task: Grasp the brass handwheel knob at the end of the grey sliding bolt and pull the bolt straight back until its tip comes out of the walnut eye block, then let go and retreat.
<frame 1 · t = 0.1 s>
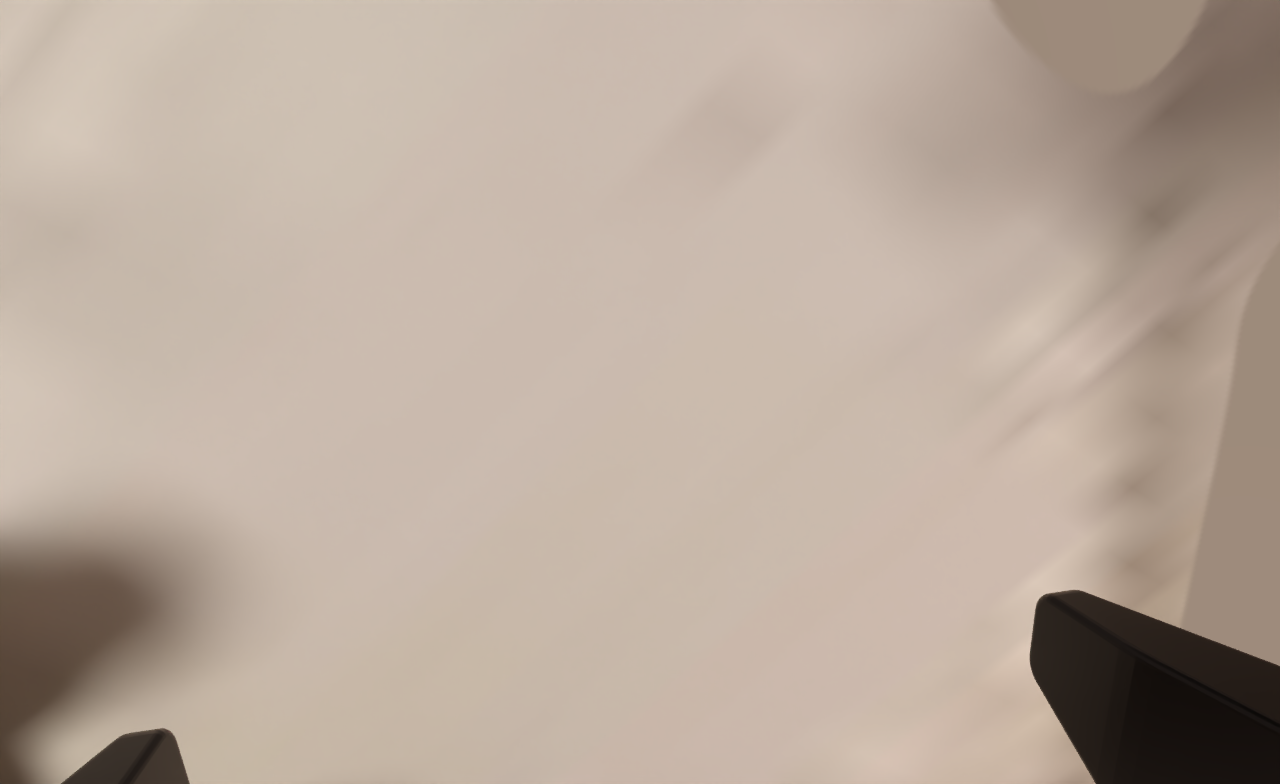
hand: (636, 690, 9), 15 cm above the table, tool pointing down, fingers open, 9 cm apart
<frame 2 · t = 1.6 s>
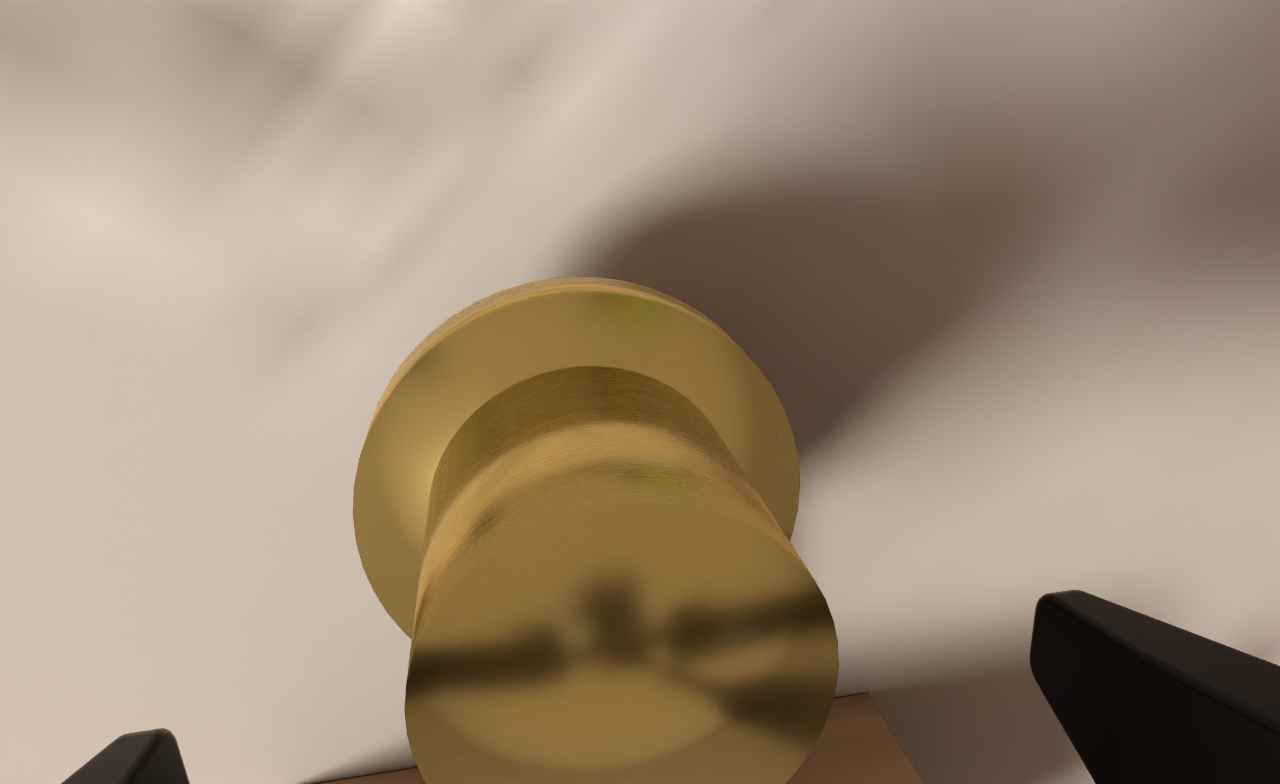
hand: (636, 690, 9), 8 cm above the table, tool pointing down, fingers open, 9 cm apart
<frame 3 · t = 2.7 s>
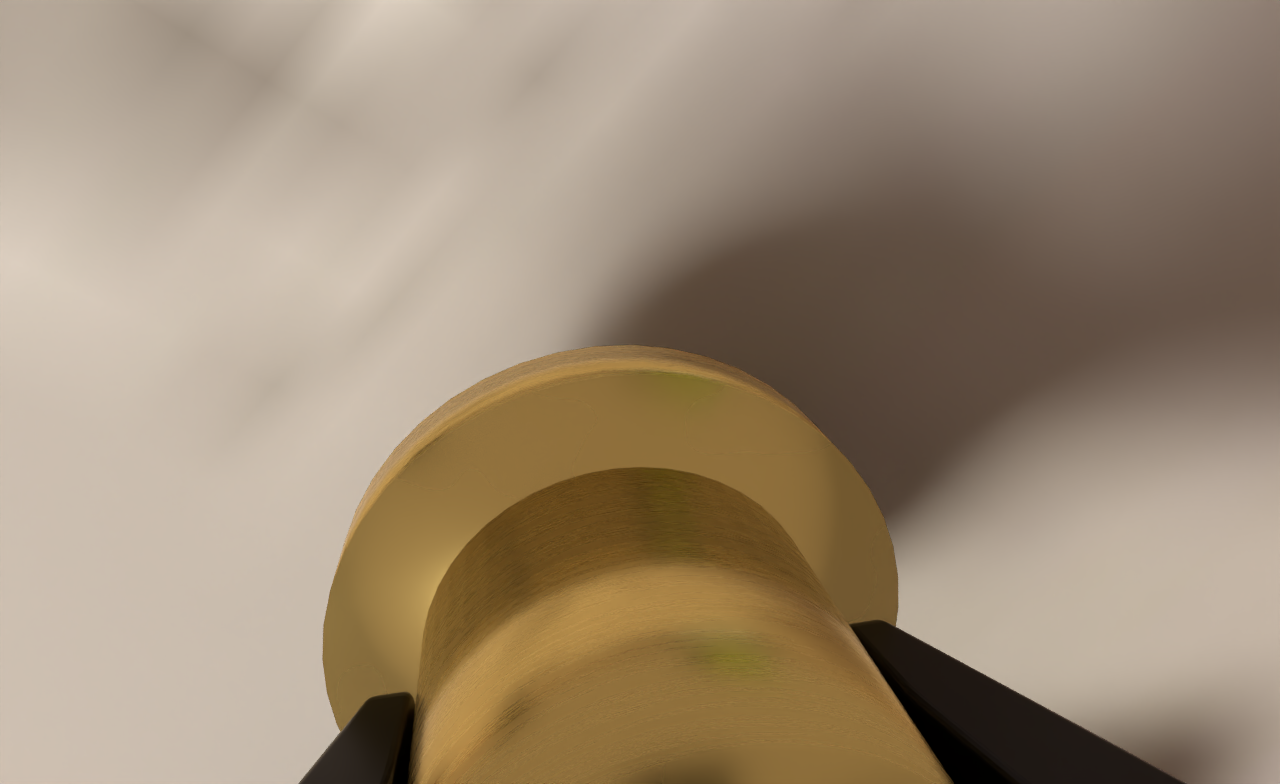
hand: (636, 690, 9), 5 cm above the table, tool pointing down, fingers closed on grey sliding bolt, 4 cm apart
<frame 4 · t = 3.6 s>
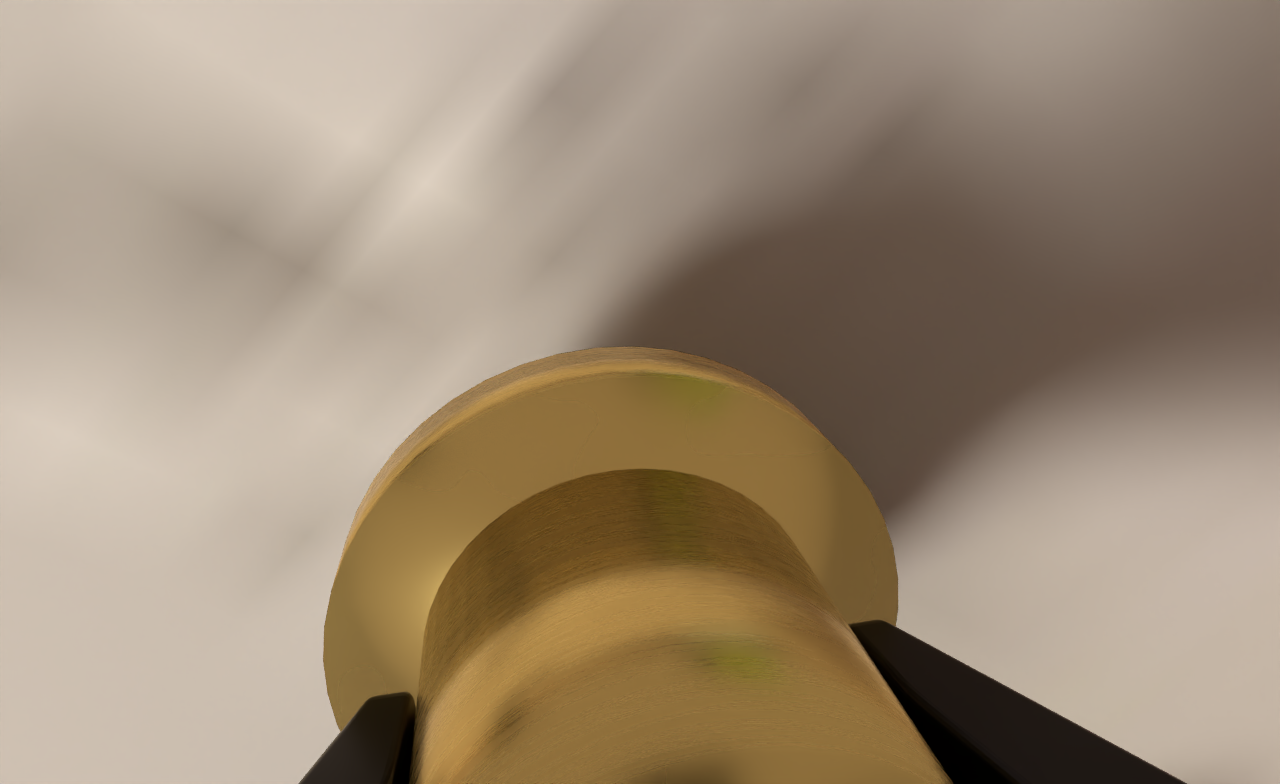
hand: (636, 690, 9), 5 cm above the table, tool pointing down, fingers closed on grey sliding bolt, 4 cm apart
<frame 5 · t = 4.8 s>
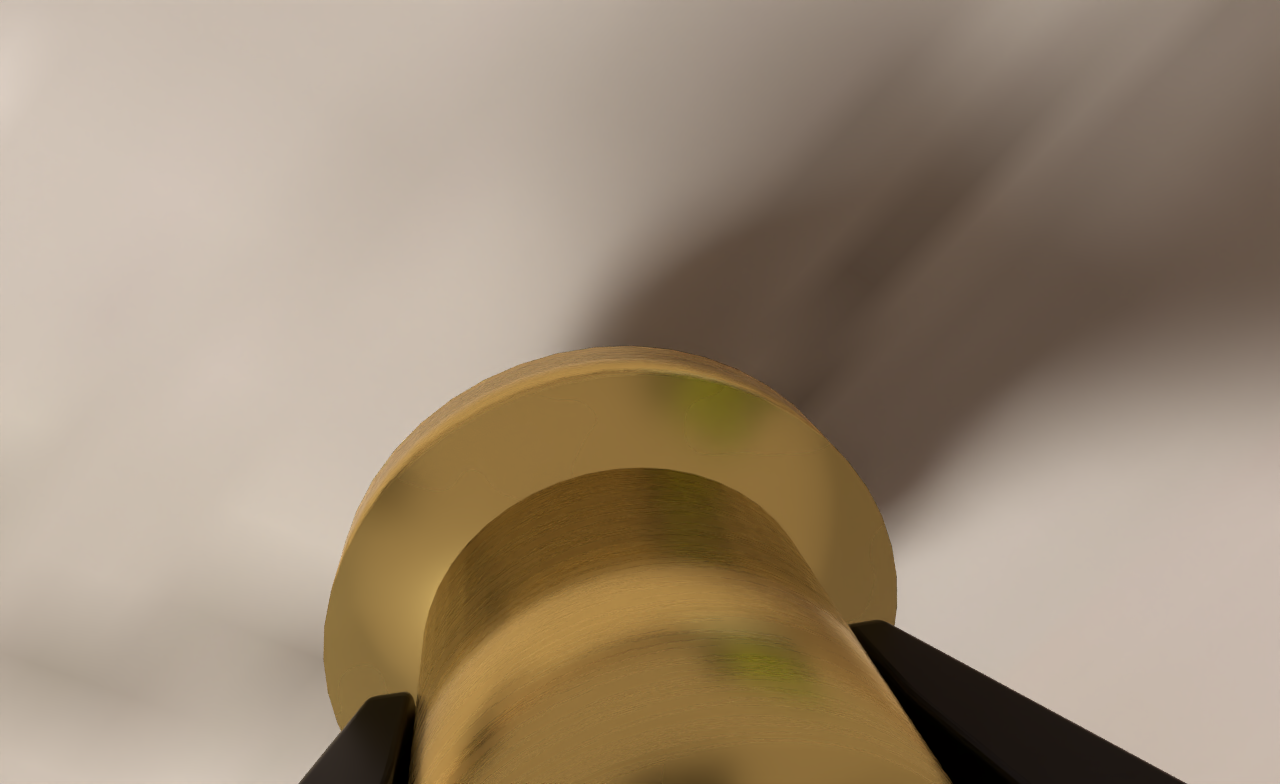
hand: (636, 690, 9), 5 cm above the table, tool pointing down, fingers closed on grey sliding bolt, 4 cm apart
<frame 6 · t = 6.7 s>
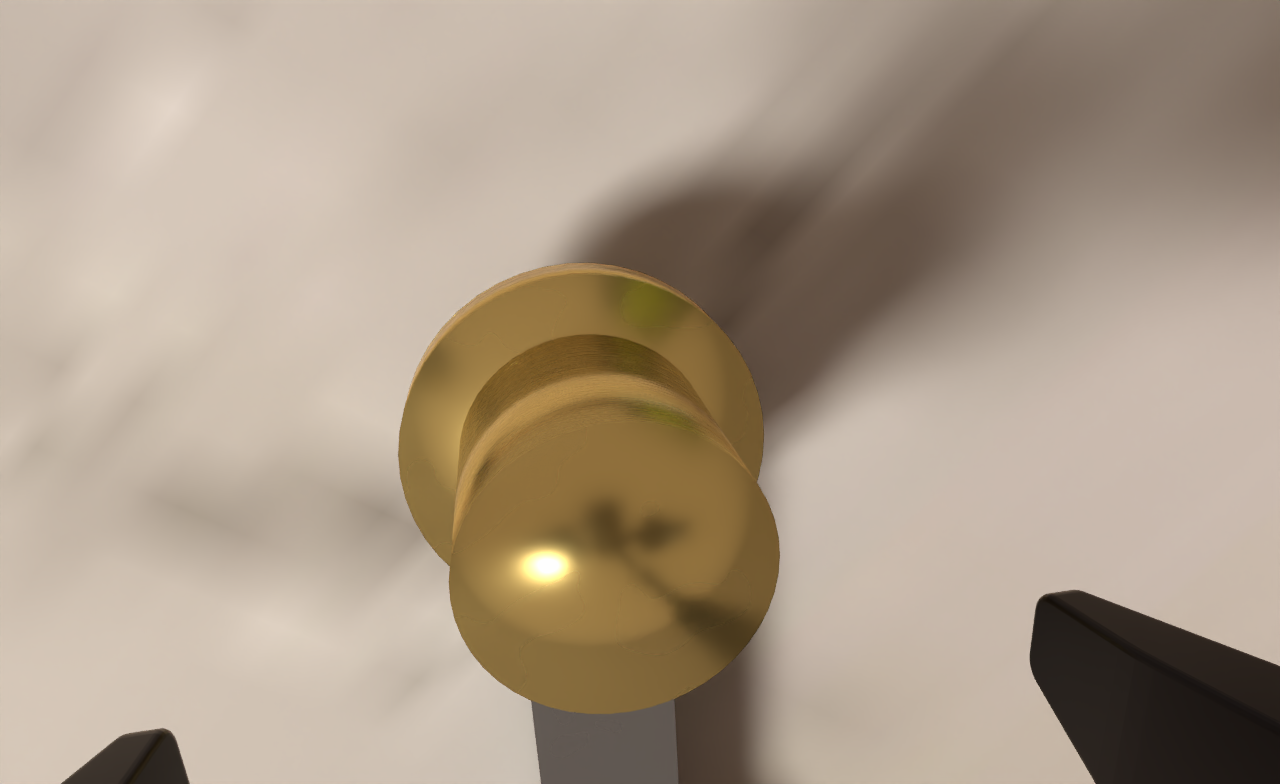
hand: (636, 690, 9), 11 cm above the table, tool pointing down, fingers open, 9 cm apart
grey sliding bolt: (609, 725, 17), point 4 cm above the table, slide at 9.5 cm
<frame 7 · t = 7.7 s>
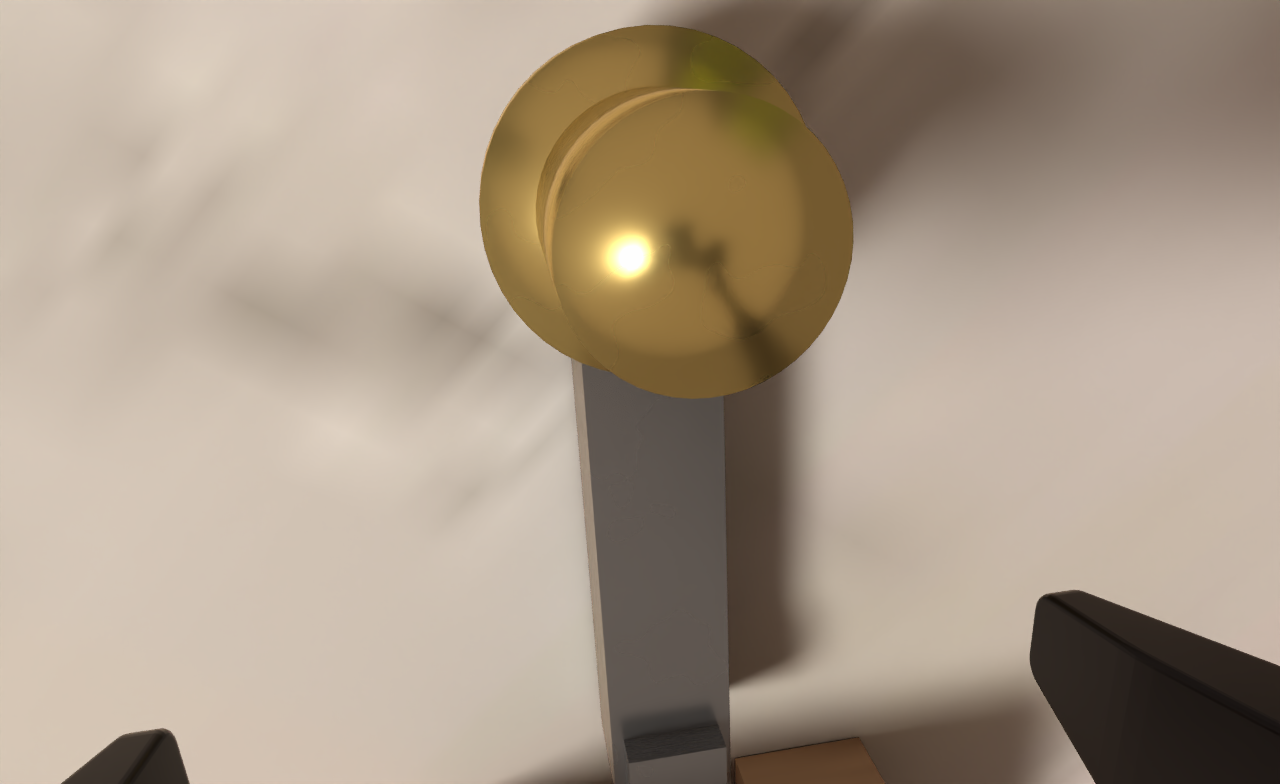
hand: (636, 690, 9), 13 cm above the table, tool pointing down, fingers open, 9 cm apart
grey sliding bolt: (667, 496, 18), point 4 cm above the table, slide at 9.5 cm
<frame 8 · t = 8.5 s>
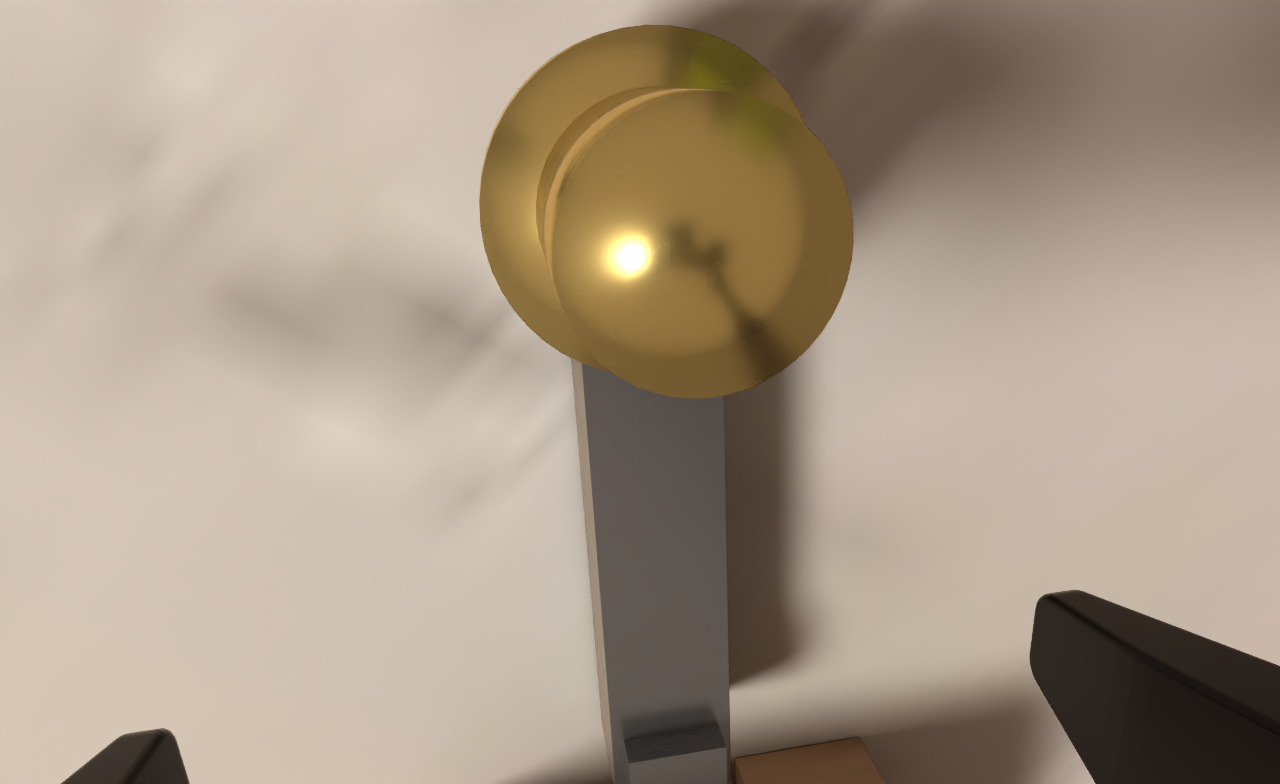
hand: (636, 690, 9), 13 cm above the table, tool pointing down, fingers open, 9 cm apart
grey sliding bolt: (667, 496, 18), point 4 cm above the table, slide at 9.5 cm
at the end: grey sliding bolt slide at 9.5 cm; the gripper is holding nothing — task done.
